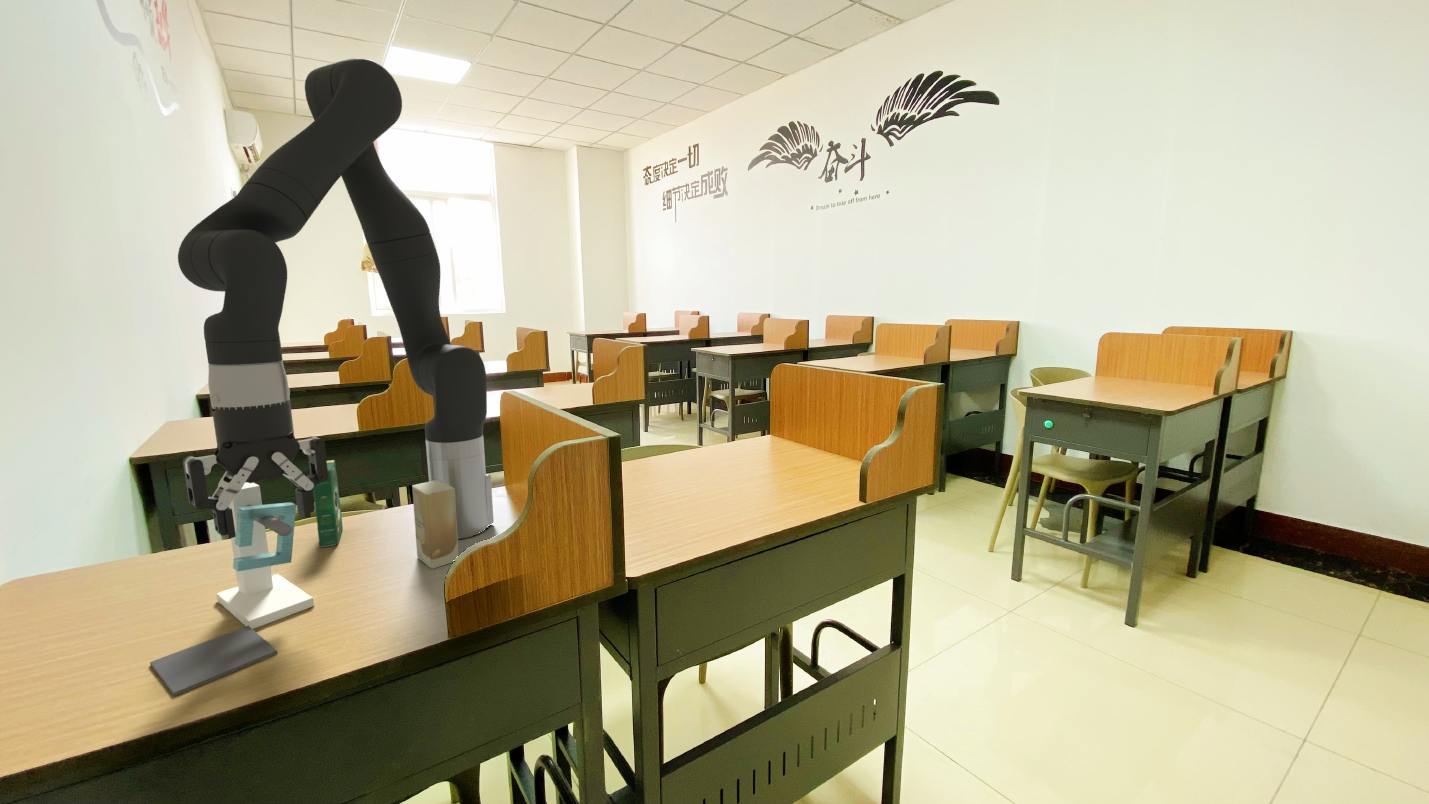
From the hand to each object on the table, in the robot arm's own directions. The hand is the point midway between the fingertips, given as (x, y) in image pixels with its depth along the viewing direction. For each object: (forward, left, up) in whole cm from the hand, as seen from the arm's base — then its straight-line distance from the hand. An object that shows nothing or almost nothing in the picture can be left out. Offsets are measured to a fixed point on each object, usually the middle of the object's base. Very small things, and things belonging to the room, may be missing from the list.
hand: (268, 526), depth 73 cm
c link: (+1, 0, -5) cm, 5 cm away
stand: (0, -3, -12) cm, 13 cm away
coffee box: (-15, -22, -12) cm, 29 cm away
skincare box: (-21, +1, -12) cm, 24 cm away
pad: (+8, +5, -12) cm, 15 cm away
